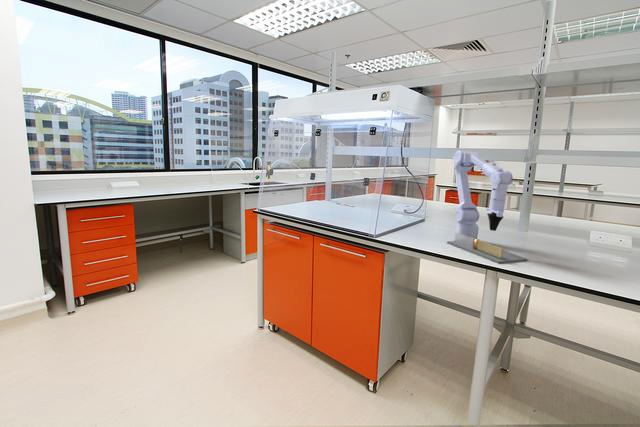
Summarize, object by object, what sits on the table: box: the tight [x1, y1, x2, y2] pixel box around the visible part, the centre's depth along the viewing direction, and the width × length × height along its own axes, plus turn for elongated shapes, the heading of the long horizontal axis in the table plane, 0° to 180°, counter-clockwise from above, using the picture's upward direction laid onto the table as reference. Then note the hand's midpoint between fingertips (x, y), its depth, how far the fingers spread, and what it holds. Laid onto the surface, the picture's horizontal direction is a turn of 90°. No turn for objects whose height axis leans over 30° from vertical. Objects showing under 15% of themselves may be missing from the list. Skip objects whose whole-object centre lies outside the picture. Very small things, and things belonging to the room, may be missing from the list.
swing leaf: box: [474, 238, 505, 258], centre depth 132 cm, size 2×14×4 cm, turn 19°
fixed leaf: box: [454, 232, 475, 249], centre depth 144 cm, size 1×11×4 cm, turn 21°
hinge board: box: [446, 240, 529, 264], centre depth 139 cm, size 16×28×1 cm, turn 20°
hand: (492, 230), depth 138 cm, fingers closed
